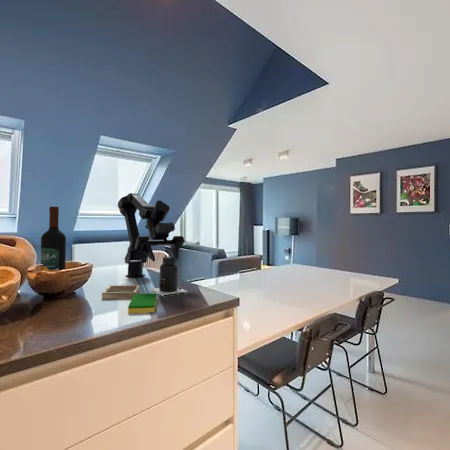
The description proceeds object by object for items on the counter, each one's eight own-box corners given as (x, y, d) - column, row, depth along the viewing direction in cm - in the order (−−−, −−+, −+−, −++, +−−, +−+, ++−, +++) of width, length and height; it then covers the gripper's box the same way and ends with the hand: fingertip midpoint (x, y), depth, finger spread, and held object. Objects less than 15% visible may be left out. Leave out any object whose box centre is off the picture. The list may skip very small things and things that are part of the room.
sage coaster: (151, 290, 106) (151, 288, 106) (175, 287, 112) (175, 285, 112) (161, 296, 98) (161, 294, 98) (187, 293, 104) (187, 291, 104)
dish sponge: (127, 315, 80) (128, 306, 80) (134, 301, 93) (134, 293, 93) (154, 314, 81) (154, 305, 81) (156, 300, 94) (156, 293, 94)
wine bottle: (69, 291, 103) (70, 207, 102) (46, 295, 96) (48, 205, 96) (58, 288, 107) (59, 207, 106) (35, 291, 100) (37, 206, 100)
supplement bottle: (156, 291, 102) (157, 258, 101) (161, 287, 108) (162, 255, 108) (175, 292, 101) (176, 258, 101) (179, 288, 108) (180, 256, 108)
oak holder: (109, 291, 104) (109, 285, 104) (139, 290, 105) (139, 285, 105) (101, 299, 93) (101, 292, 93) (135, 298, 95) (135, 292, 95)
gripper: (137, 214, 106) (147, 247, 97) (183, 216, 117) (195, 245, 108) (130, 234, 113) (139, 266, 104) (174, 234, 123) (185, 263, 115)
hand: (166, 260), depth 107 cm, fingers open, 9 cm apart
